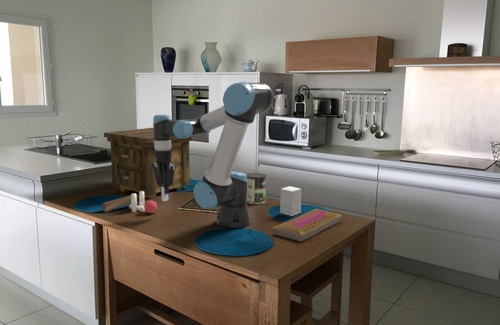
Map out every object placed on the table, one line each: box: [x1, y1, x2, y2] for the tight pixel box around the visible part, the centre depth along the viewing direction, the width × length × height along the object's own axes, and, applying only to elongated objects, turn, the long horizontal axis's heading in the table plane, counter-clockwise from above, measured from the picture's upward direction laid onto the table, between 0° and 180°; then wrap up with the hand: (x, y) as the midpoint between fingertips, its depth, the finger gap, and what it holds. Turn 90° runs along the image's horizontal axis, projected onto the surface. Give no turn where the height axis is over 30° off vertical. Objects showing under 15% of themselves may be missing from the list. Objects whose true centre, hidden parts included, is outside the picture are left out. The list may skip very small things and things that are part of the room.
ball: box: [144, 200, 158, 214], centre depth 204 cm, size 6×6×6 cm
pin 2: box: [138, 191, 146, 207], centre depth 210 cm, size 2×2×8 cm
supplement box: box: [279, 185, 302, 217], centre depth 205 cm, size 7×7×13 cm
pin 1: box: [131, 192, 138, 213], centre depth 206 cm, size 2×2×8 cm
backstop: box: [102, 194, 139, 213], centre depth 213 cm, size 2×20×4 cm, turn 148°
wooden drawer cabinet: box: [103, 127, 196, 199], centre depth 244 cm, size 35×35×33 cm
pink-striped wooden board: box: [272, 208, 344, 242], centre depth 188 cm, size 35×14×6 cm, turn 141°
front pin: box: [128, 204, 146, 212], centre depth 209 cm, size 2×2×8 cm
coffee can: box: [246, 172, 267, 205], centre depth 226 cm, size 10×10×14 cm
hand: (165, 200), depth 198 cm, fingers closed
